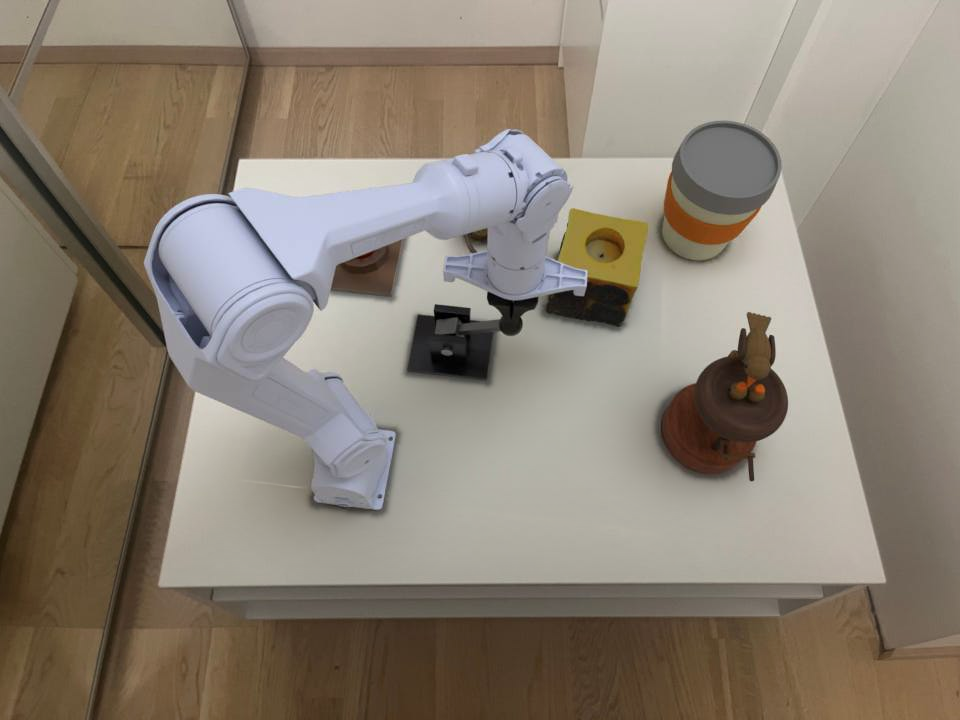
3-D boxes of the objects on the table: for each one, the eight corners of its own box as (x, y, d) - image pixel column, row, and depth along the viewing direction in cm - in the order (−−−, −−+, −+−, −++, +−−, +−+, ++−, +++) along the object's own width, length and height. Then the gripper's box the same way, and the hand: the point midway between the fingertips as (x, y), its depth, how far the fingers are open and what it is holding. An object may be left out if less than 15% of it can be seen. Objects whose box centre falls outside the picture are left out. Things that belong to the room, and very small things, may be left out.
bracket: (494, 326, 87) (495, 299, 81) (487, 382, 83) (487, 358, 77) (418, 317, 87) (413, 290, 81) (408, 373, 84) (402, 349, 78)
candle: (544, 314, 87) (552, 272, 78) (559, 252, 92) (567, 205, 83) (621, 330, 86) (638, 290, 77) (632, 266, 91) (649, 221, 82)
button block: (391, 298, 89) (389, 286, 86) (318, 290, 89) (313, 278, 86) (407, 225, 94) (405, 211, 91) (337, 218, 94) (333, 204, 92)
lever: (527, 318, 78) (518, 306, 76) (525, 339, 77) (516, 327, 75) (447, 327, 83) (436, 316, 81) (443, 347, 82) (433, 336, 80)
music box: (648, 381, 83) (711, 298, 65) (732, 381, 84) (818, 299, 66) (668, 502, 77) (744, 448, 59) (759, 500, 78) (862, 446, 60)
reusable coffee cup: (651, 269, 90) (681, 197, 77) (646, 195, 96) (674, 116, 82) (744, 273, 90) (791, 202, 77) (734, 199, 95) (776, 120, 82)
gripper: (596, 218, 64) (577, 292, 77) (447, 204, 65) (453, 278, 78) (592, 280, 61) (573, 346, 74) (437, 264, 62) (444, 332, 75)
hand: (511, 315), depth 75 cm, fingers closed
